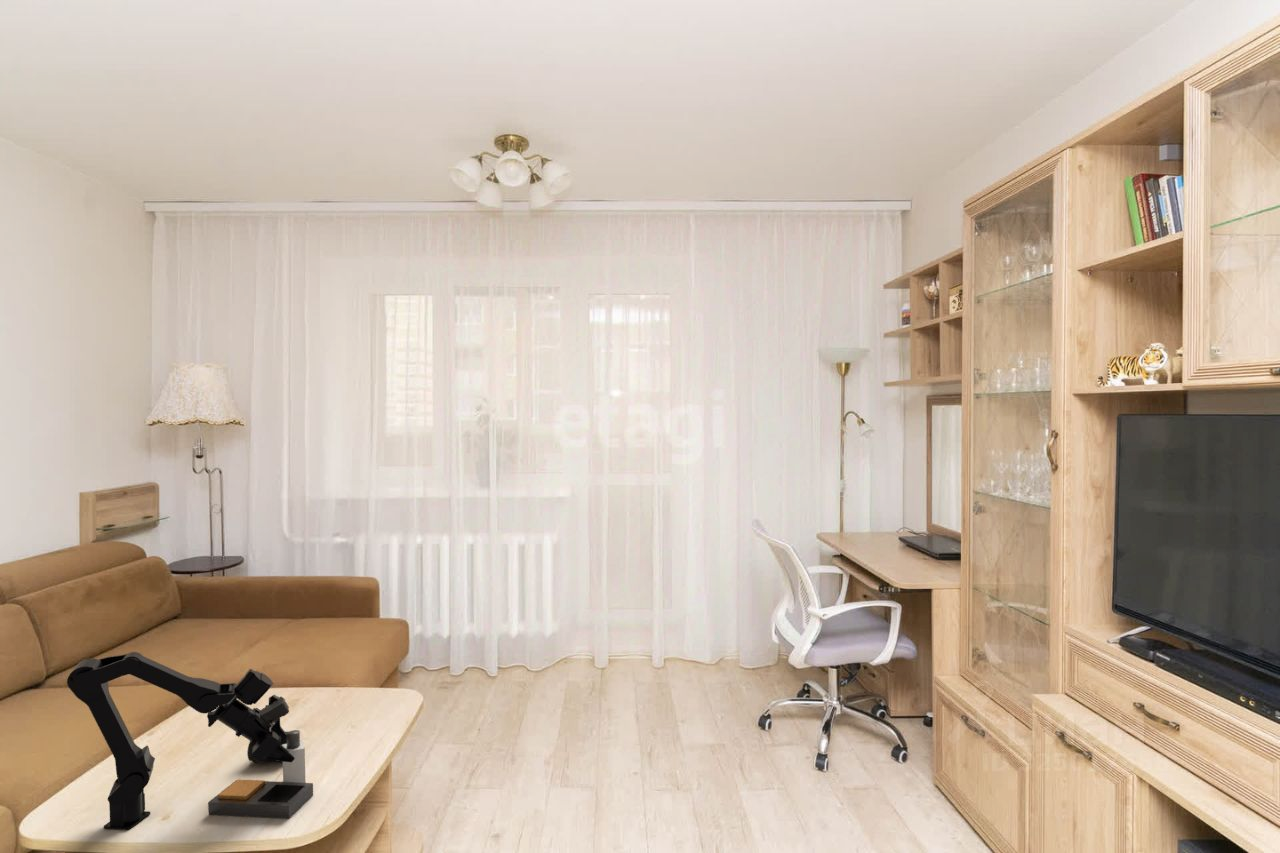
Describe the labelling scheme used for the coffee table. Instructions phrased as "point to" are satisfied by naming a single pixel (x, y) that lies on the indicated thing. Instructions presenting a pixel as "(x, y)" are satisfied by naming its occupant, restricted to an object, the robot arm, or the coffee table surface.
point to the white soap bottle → (297, 767)
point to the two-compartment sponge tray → (261, 799)
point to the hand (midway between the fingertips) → (292, 752)
